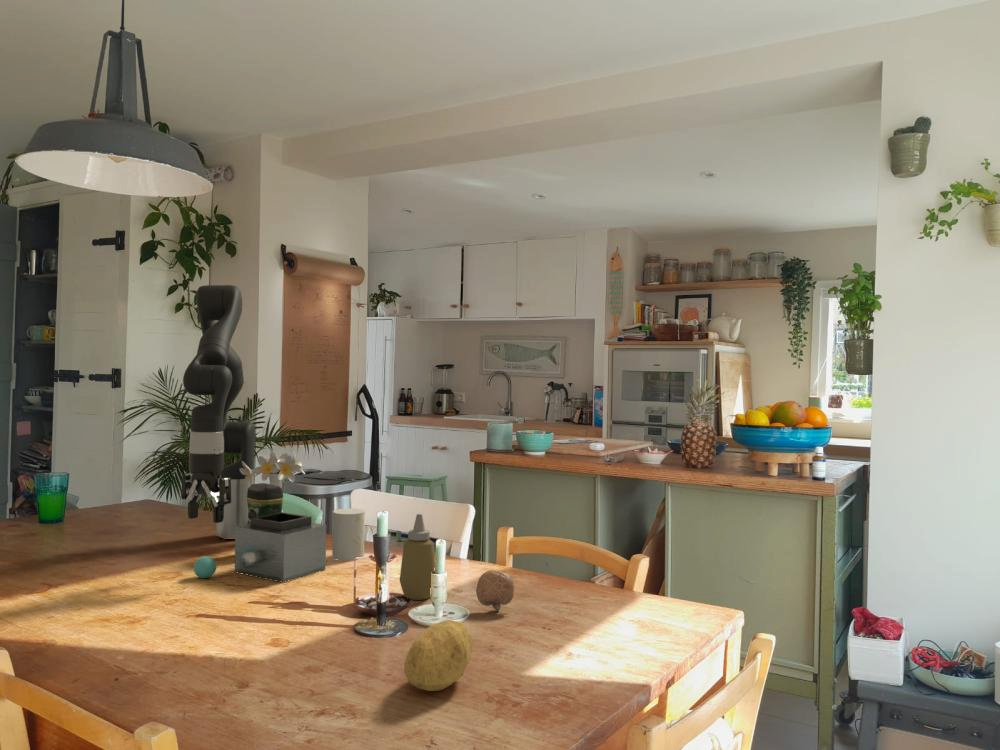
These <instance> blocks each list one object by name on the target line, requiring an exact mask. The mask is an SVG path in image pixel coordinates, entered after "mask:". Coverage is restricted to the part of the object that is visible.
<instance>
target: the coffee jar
mask: <svg viewBox="0 0 1000 750" xmlns="http://www.w3.org/2000/svg"><path fill="white" fill-rule="evenodd" d="M283 490H284V489H283V488H282V486H281V487H279V486H275V485H271V484H270V483H266V482H265V483H264V482H262V483H261V482H260V483H259V482H258V483H253V484H252V485H251V486H250V487H249V488H248V491H247V504H248V523H247V524H251V518H256V517H261V516H266V515H270V514H275V513H280V512H282V510H283V503H284V491H283Z"/></svg>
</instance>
